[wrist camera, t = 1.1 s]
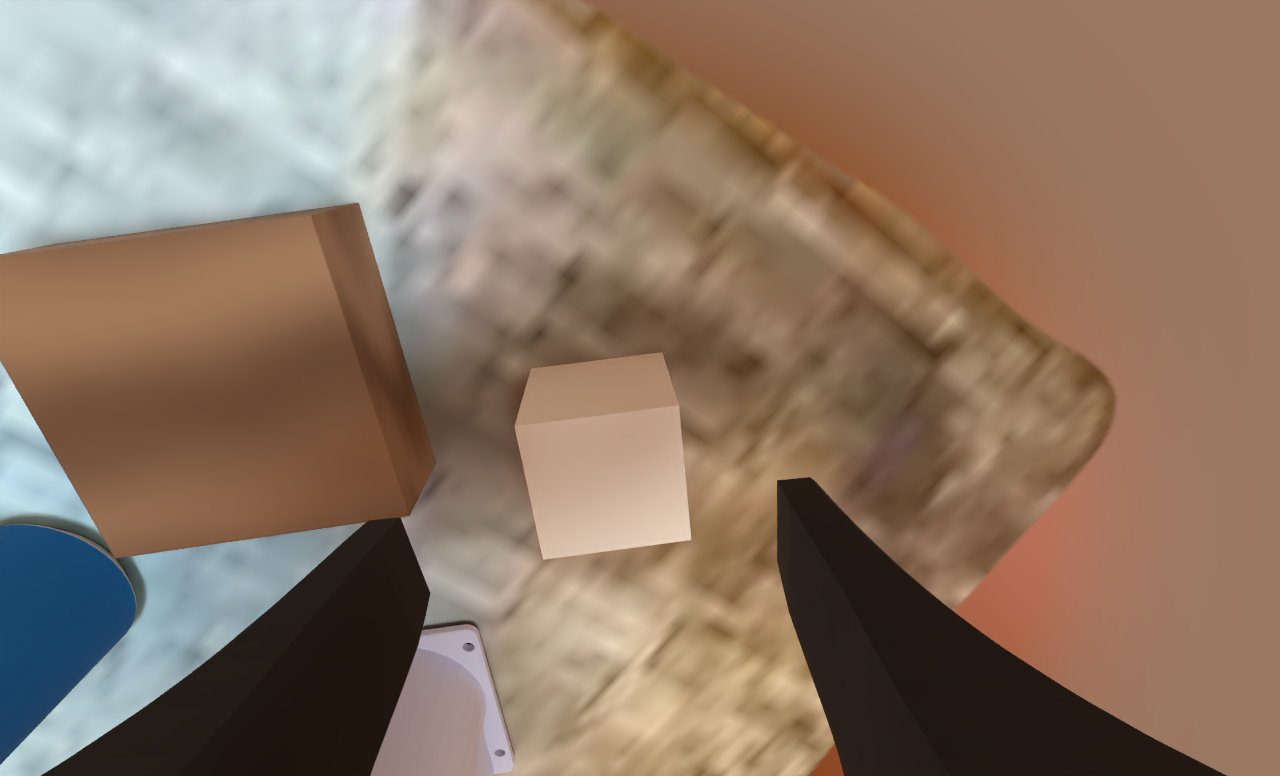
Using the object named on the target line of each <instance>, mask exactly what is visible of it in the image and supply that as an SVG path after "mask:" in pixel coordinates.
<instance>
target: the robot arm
mask: <svg viewBox="0 0 1280 776" xmlns="http://www.w3.org/2000/svg"><path fill="white" fill-rule="evenodd" d="M777 562H778V566H779V571H780V575H781V580H782V584H783V588H784V593H785V597H786V601H787V605H788V609H789V613H790V616H791V619H792V622H793V625H794V628H795V630H796V633H797V636H798V639H799V642H800V645H801V647H802V650H803V653H804V656H805V659H806V662H807V664H808V667H809V670H810V673H811V676H812V678H813V681H814V684H815V687H816V690H817V692H818V695H819V698H820V701H821V704H822V706H823V709H824V712H825V715H826V718H827V720H828V723H829V726H830V729H831V732H832V735H833V738H834V741H835V745H836V748H837V751H838V754H839V757H840V761H841V765H842V769H843V773H844V776H1226V775H1224V774H1222V773H1220V772H1218V771H1216V770H1214V769H1213V768H1210V767H1209V766H1206V765H1204V764H1203V763H1201V762H1199V761H1197V760H1195V759H1193V758H1191V757H1189V756H1187V755H1185V754H1183V753H1181V752H1179V751H1177V750H1175V749H1173V748H1171V747H1169V746H1167V745H1165V744H1163V743H1161V742H1159V741H1157V740H1155V739H1154V738H1152V737H1150V736H1148V735H1146V734H1144V733H1143V732H1141V731H1139V730H1137V729H1135V728H1134V727H1132V726H1130V725H1129V724H1126V723H1125V722H1123V721H1121V720H1119V719H1118V718H1116V717H1114V716H1113V715H1111V714H1109V713H1107V712H1106V711H1104V710H1102V709H1100V708H1098V707H1097V706H1095V705H1093V704H1091V703H1089V702H1088V701H1086V700H1084V699H1083V698H1081V697H1080V696H1078V695H1076V694H1075V693H1073V692H1071V691H1070V690H1068V689H1066V688H1065V687H1063V686H1061V685H1060V684H1059V683H1057V682H1055V681H1054V680H1052V679H1051V678H1049V677H1047V676H1046V675H1044V674H1043V673H1041V672H1040V671H1038V670H1036V669H1035V668H1033V667H1032V666H1030V665H1028V664H1027V663H1026V662H1024V661H1022V660H1021V659H1019V658H1018V657H1016V656H1015V655H1013V654H1012V653H1010V652H1009V651H1007V650H1005V649H1004V648H1003V647H1001V646H1000V645H998V644H997V643H995V642H994V641H993V640H991V639H990V638H988V637H987V636H985V635H984V634H982V633H981V632H980V631H979V630H977V629H976V628H975V627H973V626H972V625H971V624H969V623H968V622H967V621H965V620H964V619H963V618H961V617H960V616H959V615H957V614H956V613H955V612H953V611H952V610H951V609H950V608H948V607H947V606H946V605H945V604H943V603H942V602H941V601H940V600H938V599H937V598H936V597H935V596H934V595H932V594H931V593H930V592H929V591H928V590H926V589H925V588H924V587H923V586H922V585H920V584H919V583H918V582H917V581H916V580H915V579H913V578H912V577H911V576H910V575H909V574H908V573H906V572H905V571H904V570H903V569H902V568H901V567H900V566H899V565H898V564H896V563H895V562H894V561H893V560H892V559H891V558H890V557H889V556H888V555H887V554H886V553H885V552H884V551H883V550H881V549H880V548H879V547H878V546H877V545H876V544H875V543H874V542H873V541H872V540H871V539H870V538H869V537H868V536H867V535H866V534H865V533H864V532H863V531H862V530H861V529H860V528H859V527H858V526H857V525H856V524H855V523H854V522H853V521H852V520H851V519H850V518H849V517H848V516H847V515H846V514H845V513H844V512H843V511H842V510H841V509H840V508H839V507H838V506H837V505H836V503H835V502H834V501H833V500H832V499H831V498H830V497H829V496H828V495H827V494H826V493H825V491H824V490H823V489H822V488H821V487H820V486H819V485H818V484H817V483H816V482H815V481H814V480H813V479H812V478H810V477H808V478H798V479H788V480H777ZM429 597H430V591H429V589H428V586H427V584H426V581H425V579H424V576H423V574H422V571H421V569H420V566H419V564H418V561H417V559H416V556H415V554H414V551H413V548H412V546H411V543H410V541H409V538H408V536H407V533H406V531H405V528H404V526H403V523H402V521H401V518H400V517H398V518H388V519H377V520H369V521H368V522H367V523H365V524H364V525H363V526H362V527H360V528H359V529H358V530H357V531H356V532H355V533H353V534H352V535H351V536H350V537H349V538H348V539H347V540H345V541H344V542H343V543H342V544H341V545H340V546H339V547H338V548H337V549H335V550H334V551H333V552H332V553H331V554H330V555H329V556H328V557H327V558H326V559H325V560H323V561H322V562H321V563H320V564H319V565H318V566H317V567H316V568H315V569H314V570H312V571H311V572H310V573H309V574H308V575H307V576H306V577H305V578H304V579H302V580H301V581H300V582H299V583H298V584H297V585H296V586H295V587H294V588H292V589H291V590H290V591H289V592H288V593H287V594H286V595H285V596H284V597H282V598H281V599H280V600H279V601H278V602H277V603H276V604H275V605H273V606H272V607H271V608H270V609H269V610H268V611H266V612H265V613H264V614H263V615H262V616H260V617H259V618H258V619H257V620H256V621H254V622H253V623H252V624H251V625H250V626H249V627H247V628H246V629H245V630H244V631H243V632H241V633H240V634H239V635H238V636H237V637H235V638H234V639H233V640H232V641H231V642H230V643H228V644H227V645H226V646H225V647H224V648H222V649H221V650H220V651H219V652H217V653H216V654H215V655H214V656H212V657H211V658H210V659H209V660H207V661H206V662H205V663H204V664H202V665H201V666H200V667H198V668H197V669H196V670H195V671H193V672H192V673H191V674H189V675H188V676H187V677H185V678H184V679H183V680H181V681H180V682H179V683H177V684H176V685H174V686H173V687H172V688H170V689H169V690H168V691H166V692H165V693H164V694H162V695H161V696H160V697H158V698H157V699H155V700H154V701H153V702H151V703H150V704H149V705H147V706H146V707H144V708H143V709H141V710H140V711H139V712H137V713H136V714H134V715H133V716H131V717H130V718H128V719H127V720H125V721H124V722H122V723H121V724H119V725H118V726H116V727H115V728H113V729H112V730H110V731H109V732H107V733H106V734H104V735H103V736H101V737H100V738H98V739H97V740H95V741H94V742H92V743H91V744H89V745H88V746H86V747H85V748H83V749H82V750H80V751H79V752H77V753H76V754H74V755H73V756H71V757H70V758H68V759H67V760H65V761H64V762H62V763H60V764H59V765H57V766H56V767H54V768H52V769H51V770H49V771H48V772H46V773H44V774H43V775H41V776H494V774H500V773H506V772H509V771H511V770H512V769H513V768H514V763H515V758H514V754H513V751H512V747H511V744H510V740H509V737H508V733H507V729H506V726H505V722H504V719H503V715H502V712H501V708H500V705H499V701H498V698H497V694H496V691H495V687H494V684H493V680H492V677H491V673H490V670H489V666H488V662H487V659H486V655H485V652H484V648H483V645H482V641H481V638H480V634H479V631H478V629H477V628H476V627H475V626H473V625H470V624H465V625H457V626H450V627H443V628H435V629H428V630H422V629H423V624H424V620H425V616H426V611H427V606H428V601H429ZM466 643H471V644H472V645H468V644H466Z"/></svg>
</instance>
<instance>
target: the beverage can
mask: <svg viewBox="0 0 1280 776" xmlns="http://www.w3.org/2000/svg"><path fill="white" fill-rule="evenodd" d="M136 610H137V602H136V596H135V592H134V590H133V587H132V584H131V583H130V581H129V579H128V577H127V575H126V573H125V571H124V569H123V567H122V566H121V565H120V563H119V562H118V561H117V560H116V559H115V558H114V556H113V555H111V554H110V553H109V552H108V551H107V550H106V549H104V548H103V547H101V546H100V545H98V544H97V543H95V542H93V541H91V540H89V539H87V538H85V537H83V536H80V535H78V534H75V533H71V532H68V531H63V530H58V529H54V528H50V527H45V526H40V525H30V524H10V525H2V526H0V765H1V764H2V763H3V761H4V760H5V759H6V758H7V757H8V756H9V755H10V754H11V753H12V752H13V751H14V750H15V749H16V748H17V747H18V746H19V745H20V744H21V743H22V742H23V741H24V739H25V738H26V737H27V736H28V735H29V734H30V733H31V732H32V731H33V730H34V729H35V728H36V727H37V726H38V725H39V724H40V723H41V722H42V721H43V720H44V719H45V718H46V716H47V715H48V714H49V713H50V712H51V711H52V710H53V709H54V708H55V707H56V706H57V705H58V704H59V703H60V702H61V701H62V700H63V699H64V698H65V697H66V696H67V694H68V693H69V692H70V691H71V690H72V689H73V688H74V687H75V686H76V685H77V684H78V683H79V682H80V681H81V680H82V679H83V678H84V677H85V676H86V675H87V674H88V672H89V671H90V670H91V669H92V668H93V667H94V666H95V665H96V664H97V663H98V662H99V661H100V660H101V659H102V658H103V657H104V656H105V655H106V654H107V653H108V652H109V651H110V649H111V648H112V647H113V646H114V645H115V644H116V643H117V642H118V641H119V640H120V639H121V638H122V637H123V636H124V635H125V634H126V633H127V632H128V630H129V629H130V627H131V626H132V624H133V621H134V619H135V615H136Z"/></svg>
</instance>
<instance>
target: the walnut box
mask: <svg viewBox="0 0 1280 776" xmlns="http://www.w3.org/2000/svg"><path fill="white" fill-rule="evenodd" d="M0 361H1V363H2V364H3V366H4V368H5V370H6V371H7V373H8V375H9V376H10V378H11V380H12V382H13V383H14V385H15V387H16V389H17V390H18V392H19V394H20V395H21V397H22V399H23V401H24V402H25V404H26V406H27V408H28V409H29V411H30V413H31V414H32V416H33V418H34V420H35V421H36V423H37V425H38V426H39V428H40V430H41V432H42V433H43V435H44V437H45V439H46V440H47V442H48V444H49V445H50V447H51V449H52V451H53V452H54V454H55V456H56V458H57V459H58V461H59V463H60V464H61V466H62V468H63V470H64V471H65V473H66V475H67V477H68V478H69V480H70V482H71V483H72V485H73V487H74V489H75V490H76V492H77V494H78V496H79V497H80V499H81V501H82V502H83V504H84V506H85V508H86V509H87V511H88V513H89V514H90V516H91V518H92V520H93V521H94V523H95V525H96V527H97V528H98V530H99V532H100V533H101V535H102V537H103V539H104V540H105V542H106V544H107V546H108V547H109V549H110V551H111V552H112V554H113V556H114V558H122V557H129V556H136V555H142V554H149V553H156V552H163V551H170V550H177V549H184V548H191V547H198V546H204V545H211V544H218V543H225V542H232V541H239V540H246V539H253V538H260V537H267V536H273V535H280V534H287V533H294V532H301V531H308V530H315V529H322V528H329V527H335V526H342V525H349V524H356V523H363V522H368V521H369V520H377V519H388V518H397V517H404V516H410V514H411V512H412V510H413V508H414V506H415V504H416V502H417V500H418V497H419V495H420V493H421V491H422V489H423V487H424V485H425V483H426V481H427V479H428V477H429V475H430V473H431V471H432V469H433V467H434V465H435V463H436V462H435V459H434V455H433V452H432V449H431V445H430V442H429V438H428V435H427V432H426V428H425V425H424V422H423V418H422V415H421V411H420V408H419V405H418V401H417V398H416V395H415V391H414V388H413V384H412V381H411V378H410V374H409V371H408V368H407V364H406V361H405V357H404V354H403V351H402V347H401V344H400V341H399V337H398V334H397V330H396V327H395V324H394V320H393V317H392V314H391V310H390V307H389V303H388V300H387V297H386V293H385V290H384V287H383V283H382V280H381V276H380V273H379V270H378V266H377V263H376V260H375V256H374V253H373V250H372V246H371V243H370V239H369V236H368V233H367V229H366V226H365V223H364V219H363V216H362V212H361V209H360V206H359V203H356V204H348V205H341V206H333V207H326V208H319V209H311V210H304V211H296V212H289V213H282V214H274V215H267V216H259V217H252V218H245V219H237V220H230V221H222V222H215V223H208V224H200V225H193V226H185V227H178V228H170V229H163V230H156V231H148V232H141V233H133V234H126V235H119V236H111V237H104V238H96V239H89V240H82V241H74V242H67V243H59V244H53V245H48V246H43V247H37V248H32V249H27V250H21V251H16V252H11V253H5V254H0Z"/></svg>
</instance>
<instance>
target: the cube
mask: <svg viewBox="0 0 1280 776" xmlns="http://www.w3.org/2000/svg"><path fill="white" fill-rule="evenodd" d="M515 431H516V436H517V440H518V445H519V450H520V454H521V459H522V464H523V468H524V473H525V478H526V482H527V487H528V492H529V496H530V501H531V506H532V510H533V515H534V520H535V524H536V529H537V534H538V538H539V543H540V548H541V552H542V557H543V560H545V559H552V558H560V557H567V556H575V555H582V554H589V553H597V552H604V551H612V550H619V549H627V548H634V547H642V546H649V545H657V544H664V543H672V542H679V541H687V540H691V532H690V521H689V510H688V499H687V488H686V477H685V466H684V456H683V445H682V434H681V423H680V412H679V404H678V401H677V398H676V395H675V391H674V388H673V385H672V382H671V379H670V376H669V372H668V369H667V366H666V363H665V360H664V357H663V353H662V352H659V353H651V354H643V355H636V356H628V357H620V358H612V359H604V360H596V361H588V362H580V363H572V364H565V365H557V366H549V367H541V368H533V369H531V370H530V374H529V377H528V381H527V384H526V388H525V391H524V395H523V398H522V402H521V405H520V409H519V412H518V416H517V419H516V423H515Z"/></svg>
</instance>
